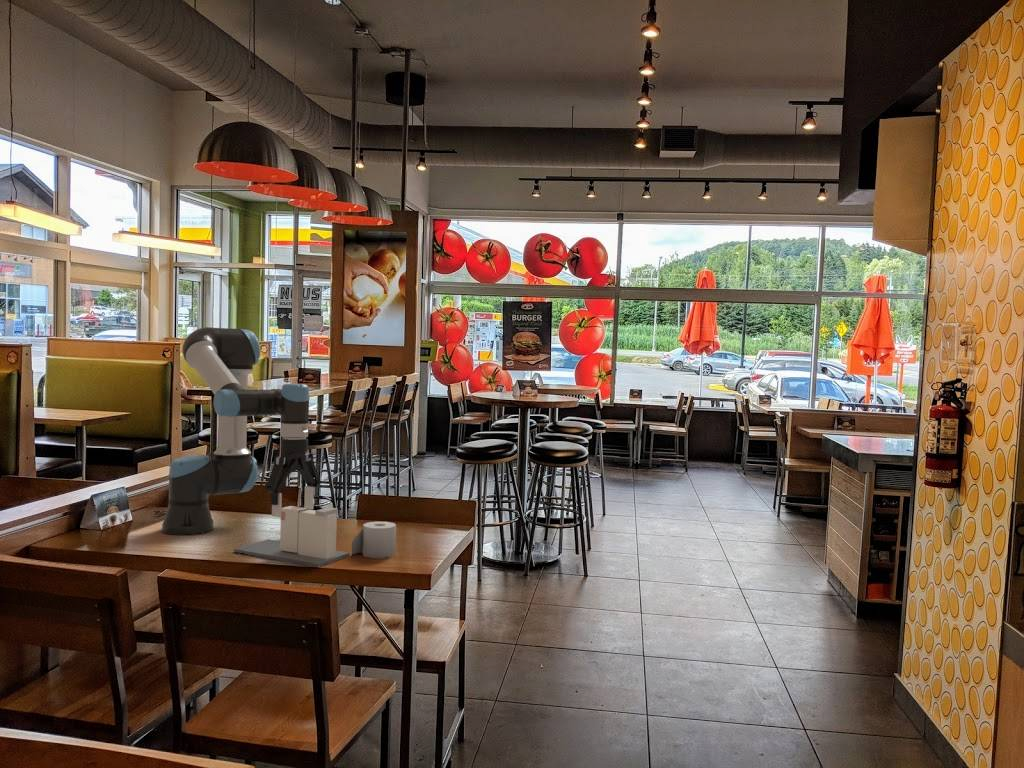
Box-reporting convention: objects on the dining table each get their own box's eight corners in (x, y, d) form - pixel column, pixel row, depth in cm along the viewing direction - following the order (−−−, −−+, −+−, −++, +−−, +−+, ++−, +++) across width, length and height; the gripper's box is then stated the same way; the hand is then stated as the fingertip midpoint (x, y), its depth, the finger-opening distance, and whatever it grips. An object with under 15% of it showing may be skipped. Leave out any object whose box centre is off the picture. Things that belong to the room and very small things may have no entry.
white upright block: (279, 550, 219) (280, 508, 218) (289, 547, 223) (290, 505, 222) (296, 552, 216) (297, 510, 216) (306, 549, 220) (307, 508, 220)
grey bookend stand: (233, 552, 220) (234, 502, 219) (268, 542, 232) (269, 495, 232) (317, 567, 207) (319, 515, 207) (349, 556, 220) (350, 506, 219)
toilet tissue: (344, 554, 221) (345, 525, 221) (385, 548, 230) (386, 520, 230) (359, 561, 214) (360, 531, 214) (401, 555, 223) (401, 526, 223)
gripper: (274, 442, 206) (272, 521, 206) (332, 435, 228) (331, 507, 229) (252, 440, 209) (251, 518, 209) (312, 434, 232) (311, 504, 232)
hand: (293, 512), depth 219 cm, fingers open, 13 cm apart
